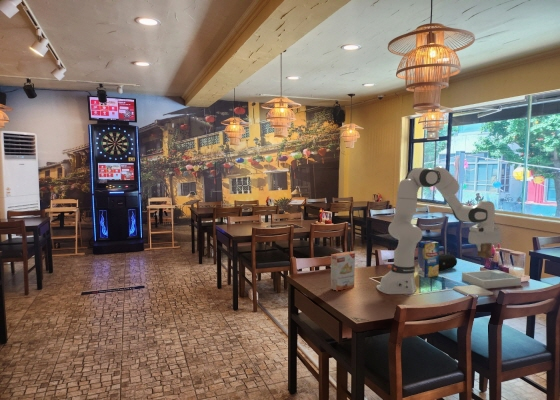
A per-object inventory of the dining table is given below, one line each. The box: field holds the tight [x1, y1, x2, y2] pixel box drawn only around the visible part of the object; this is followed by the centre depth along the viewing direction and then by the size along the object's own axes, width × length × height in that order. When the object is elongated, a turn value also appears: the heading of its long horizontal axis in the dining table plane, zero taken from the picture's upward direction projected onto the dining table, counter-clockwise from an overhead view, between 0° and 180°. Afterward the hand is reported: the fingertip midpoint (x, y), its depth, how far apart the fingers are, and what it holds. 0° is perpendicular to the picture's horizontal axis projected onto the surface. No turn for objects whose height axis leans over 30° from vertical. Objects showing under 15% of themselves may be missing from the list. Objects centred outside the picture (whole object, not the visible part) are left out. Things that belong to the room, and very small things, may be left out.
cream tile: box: [453, 284, 494, 297], centre depth 201 cm, size 14×14×2 cm
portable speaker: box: [439, 253, 458, 271], centre depth 247 cm, size 26×10×10 cm, turn 112°
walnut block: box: [477, 243, 493, 259], centre depth 214 cm, size 5×5×8 cm
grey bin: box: [461, 269, 522, 290], centre depth 216 cm, size 26×18×5 cm
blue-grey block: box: [491, 270, 506, 280], centre depth 217 cm, size 5×5×6 cm
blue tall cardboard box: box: [417, 240, 440, 278], centre depth 233 cm, size 7×11×22 cm, turn 108°
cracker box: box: [330, 251, 356, 292], centre depth 209 cm, size 14×6×21 cm, turn 123°
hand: (484, 250), depth 214 cm, fingers closed on walnut block, 5 cm apart
